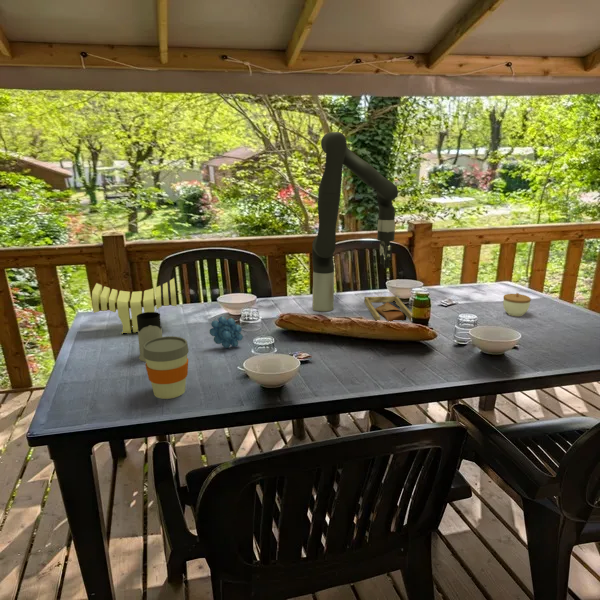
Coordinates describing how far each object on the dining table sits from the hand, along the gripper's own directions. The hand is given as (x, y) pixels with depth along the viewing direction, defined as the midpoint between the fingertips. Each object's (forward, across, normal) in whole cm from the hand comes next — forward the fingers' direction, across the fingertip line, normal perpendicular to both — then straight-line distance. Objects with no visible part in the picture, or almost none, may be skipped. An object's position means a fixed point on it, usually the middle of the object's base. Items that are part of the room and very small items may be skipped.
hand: (384, 266), depth 221 cm
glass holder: (+17, +53, -93) cm, 108 cm away
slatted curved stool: (+17, +26, -104) cm, 109 cm away
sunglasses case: (+19, +14, -1) cm, 24 cm away
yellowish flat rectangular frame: (+18, +10, 0) cm, 21 cm away
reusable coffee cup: (+17, +82, -81) cm, 116 cm away
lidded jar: (+19, +17, +54) cm, 60 cm away
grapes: (+18, +50, -67) cm, 85 cm away
